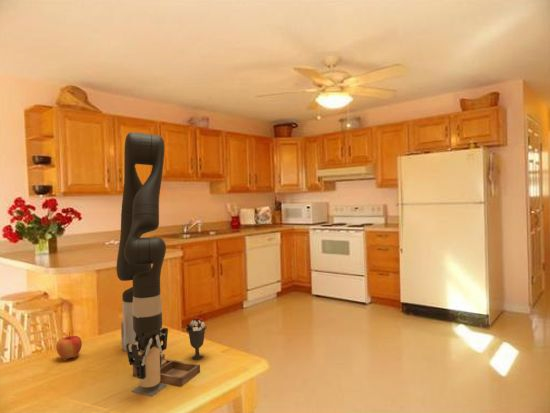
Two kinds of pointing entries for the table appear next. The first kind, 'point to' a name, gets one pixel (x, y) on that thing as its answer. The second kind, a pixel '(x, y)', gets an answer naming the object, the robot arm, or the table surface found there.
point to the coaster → (149, 389)
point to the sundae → (196, 335)
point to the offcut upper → (162, 357)
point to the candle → (151, 368)
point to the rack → (176, 372)
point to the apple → (69, 347)
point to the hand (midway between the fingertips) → (149, 372)
